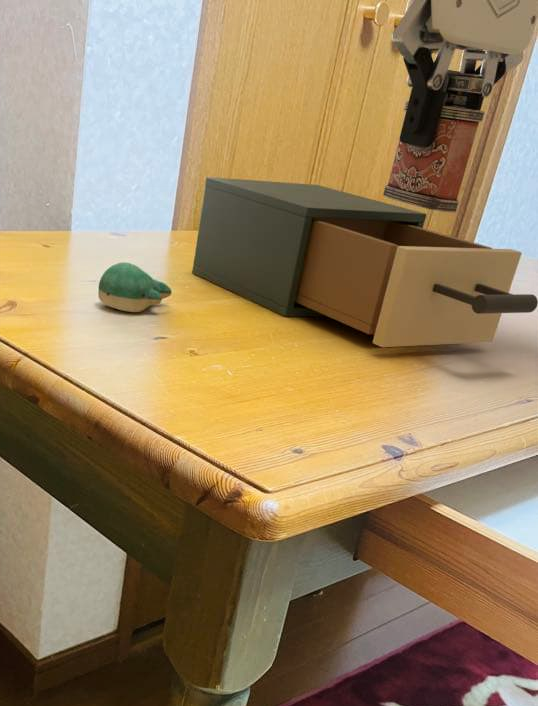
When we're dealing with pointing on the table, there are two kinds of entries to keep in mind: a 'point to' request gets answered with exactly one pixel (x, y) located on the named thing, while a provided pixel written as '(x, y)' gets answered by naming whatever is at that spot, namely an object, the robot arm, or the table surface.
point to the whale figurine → (130, 288)
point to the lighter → (439, 151)
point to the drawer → (408, 282)
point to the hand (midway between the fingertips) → (434, 144)
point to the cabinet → (272, 235)
